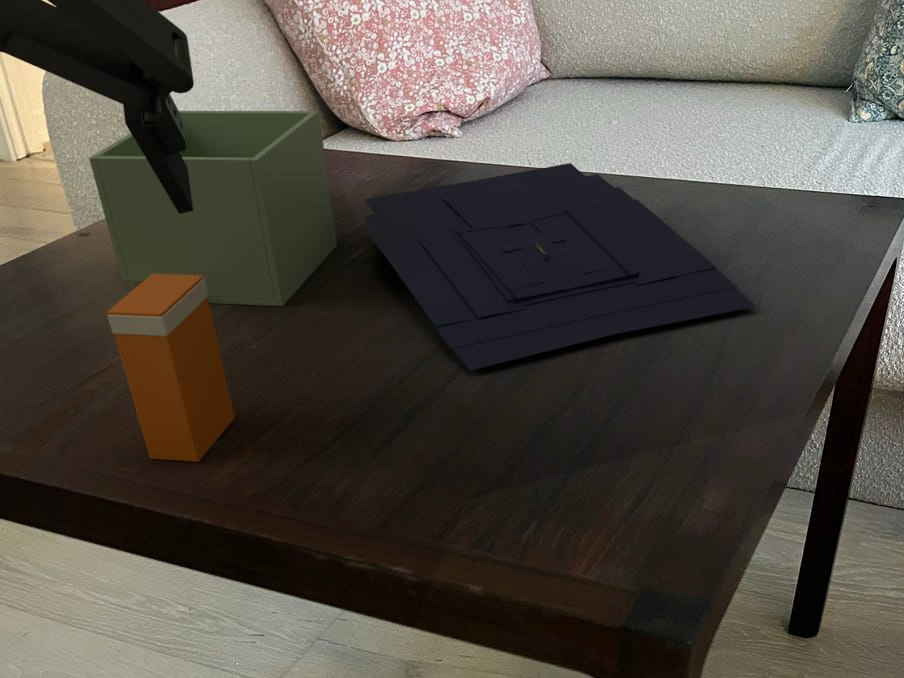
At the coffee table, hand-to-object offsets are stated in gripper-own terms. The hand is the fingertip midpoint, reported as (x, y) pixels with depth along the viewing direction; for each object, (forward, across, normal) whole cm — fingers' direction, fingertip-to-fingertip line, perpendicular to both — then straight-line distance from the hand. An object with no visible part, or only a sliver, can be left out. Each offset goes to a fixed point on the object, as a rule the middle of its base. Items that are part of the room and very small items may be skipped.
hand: (57, 220), depth 55 cm
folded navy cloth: (+34, +26, +12) cm, 45 cm away
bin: (+35, 0, +20) cm, 41 cm away
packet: (+18, 0, -4) cm, 18 cm away
